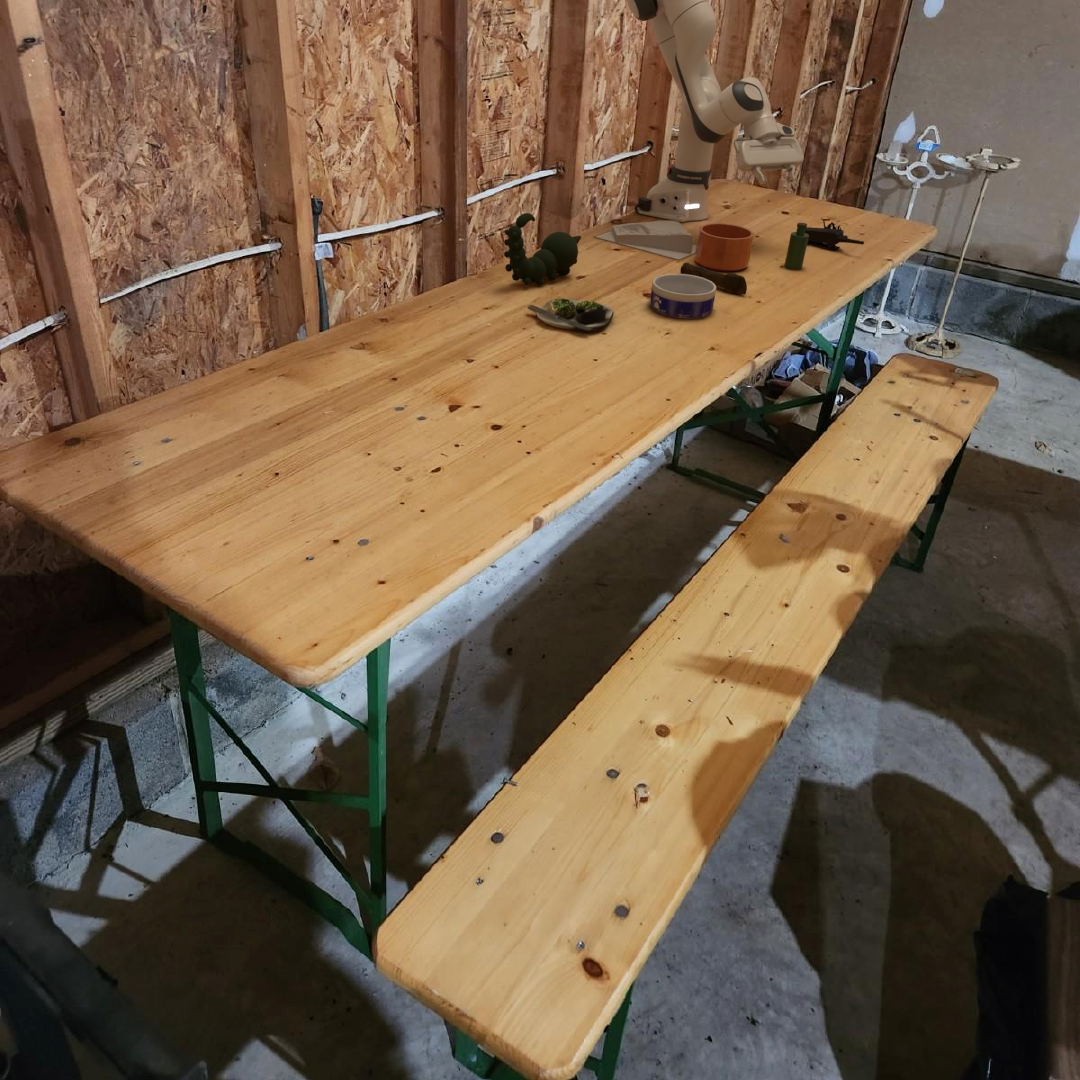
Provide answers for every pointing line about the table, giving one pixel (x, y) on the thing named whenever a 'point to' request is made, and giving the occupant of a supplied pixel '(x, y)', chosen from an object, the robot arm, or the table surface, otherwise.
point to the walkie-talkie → (828, 237)
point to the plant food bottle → (797, 248)
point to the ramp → (654, 238)
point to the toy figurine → (540, 254)
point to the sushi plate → (574, 315)
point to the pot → (724, 246)
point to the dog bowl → (682, 296)
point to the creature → (832, 225)
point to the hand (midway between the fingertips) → (777, 182)
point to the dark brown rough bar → (718, 278)
